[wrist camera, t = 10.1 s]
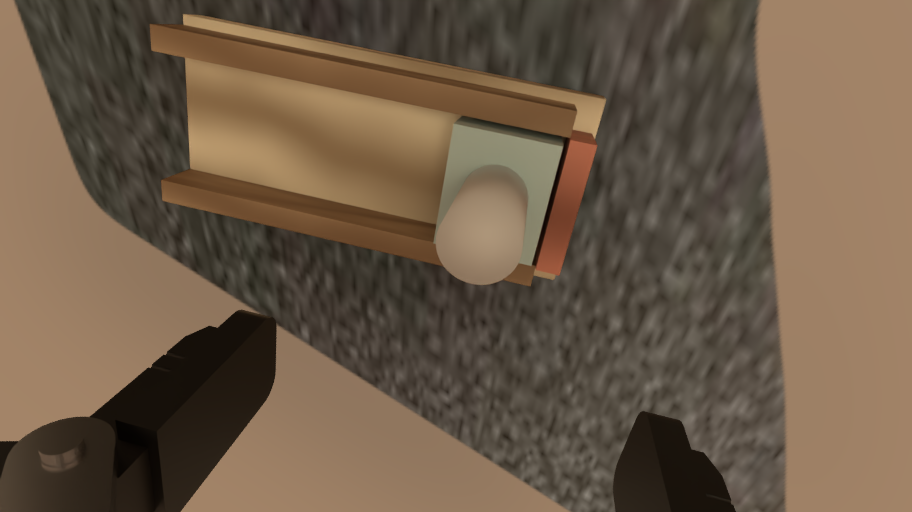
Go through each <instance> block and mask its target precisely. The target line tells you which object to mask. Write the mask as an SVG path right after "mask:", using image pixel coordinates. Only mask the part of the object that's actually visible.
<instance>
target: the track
mask: <svg viewBox="0 0 912 512" xmlns="http://www.w3.org/2000/svg"><path fill="white" fill-rule="evenodd" d="M183 23H184V25H175V24H150V34H151V48H152V51H156V52H161V53H166V54H170V55H175V56H180V57H185V65H186V86H187V108H188V129H189V150H190V169H189V170H186V171H183V172H181V173H178V174H175V175H173V176H170V177H168V178H165V179H162V180H161V185H162V199H163V201H166V202H170V203H175V204H179V205H183V206H187V207H192V208H196V209H200V210H205V211H209V212H213V213H217V214H222V215H226V216H230V217H235V218H239V219H243V220H248V221H252V222H256V223H260V224H265V225H269V226H273V227H278V228H282V229H286V230H290V231H295V232H299V233H303V234H308V235H312V236H316V237H320V238H325V239H329V240H333V241H338V242H342V243H346V244H351V245H355V246H359V247H363V248H368V249H372V250H376V251H381V252H385V253H389V254H393V255H398V256H402V257H406V258H411V259H415V260H419V261H424V262H428V263H432V264H436V265H441V266H443V264H442V263H441V261H440V259H439V257H438V254H437V250H436V244H433V242H434V236H435V230H436V224H437V219H438V213H439V207H440V201H441V195H442V189H443V183H444V177H445V172H446V166H447V160H448V154H449V148H450V142H451V136H452V130H453V125H454V123H455V122H456V121H457V120H458V119H459V118H460V117H461V116H462V115H463V116H468V117H472V118H477V119H482V120H487V121H492V122H496V123H501V124H506V125H511V126H515V127H520V128H525V129H530V130H535V131H539V132H544V133H549V134H554V135H559V136H562V143H563V149H562V152H561V156H560V160H559V164H558V167H557V171H556V175H555V179H554V183H553V186H552V190H551V194H550V198H549V201H548V205H547V209H546V213H545V217H544V220H543V224H542V228H541V232H540V235H539V239H538V243H537V247H536V250H535V254H534V258H533V262H532V266H529V265H525V264H520V263H518V265H517V266H516V268H515V269H514V271H513V272H512V273H511V274H510V275H508V276H507V277H506V278H504V279H502V280H505V281H509V282H514V283H518V284H522V285H527V286H531V282H532V278H533V275H535V276H539V277H544V278H548V279H552V280H554V278H555V275H560V271H561V268H562V265H563V261H564V258H565V254H566V251H567V247H568V244H569V241H570V237H571V234H572V230H573V227H574V224H575V220H576V217H577V213H578V210H579V207H580V203H581V200H582V196H583V193H584V190H585V186H586V183H587V179H588V176H589V173H590V169H591V166H592V162H593V159H594V155H595V152H596V149H597V144H596V141H595V137H596V133H597V130H598V126H599V123H600V120H601V116H602V113H603V109H604V106H605V102H606V99H605V98H604V96H600V95H595V94H590V93H585V92H580V91H575V90H570V89H565V88H560V87H555V86H550V85H545V84H540V83H535V82H531V81H526V80H521V79H516V78H511V77H506V76H501V75H496V74H491V73H486V72H481V71H476V70H471V69H466V68H461V67H456V66H451V65H446V64H441V63H436V62H431V61H426V60H421V59H416V58H411V57H406V56H401V55H396V54H391V53H386V52H381V51H376V50H372V49H367V48H362V47H357V46H352V45H347V44H342V43H337V42H332V41H327V40H322V39H317V38H312V37H307V36H302V35H297V34H292V33H287V32H282V31H277V30H272V29H267V28H262V27H257V26H252V25H247V24H242V23H237V22H232V21H227V20H222V19H217V18H213V17H208V16H203V15H188V14H183Z"/></svg>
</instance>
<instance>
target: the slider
mask: <svg viewBox="0 0 912 512" xmlns="http://www.w3.org/2000/svg"><path fill="white" fill-rule="evenodd" d="M562 149H563V143H562V136H559V135H554V134H549V133H544V132H539V131H535V130H530V129H525V128H520V127H515V126H511V125H506V124H501V123H496V122H492V121H487V120H482V119H477V118H472V117H468V116H463V115H462V116H461V117H460V118H459V119H458V120H457V121H456V122H455V123H454V125H453V130H452V136H451V142H450V148H449V154H448V160H447V166H446V172H445V177H444V183H443V189H442V195H441V201H440V207H439V213H438V219H437V224H436V230H435V236H434V242H433V244H436V250H437V254H438V257H439V259H440V261H441V263H442V264H443V266H444V267H445V268H446V270H447V271H448V272H449V273H451V274H452V275H453V276H454V277H456V278H458V279H459V280H462V281H464V282H467V283H470V284H475V285H487V284H492V283H495V282H498V281H500V280H502V279H504V278H506V277H507V276H508V275H510V274H511V273H512V272H513V271H514V269H515V268H516V266H517V265H518V263H520V264H525V265H529V266H532V262H533V258H534V254H535V250H536V247H537V243H538V239H539V235H540V232H541V228H542V224H543V220H544V217H545V213H546V209H547V205H548V201H549V198H550V194H551V190H552V186H553V183H554V179H555V175H556V171H557V167H558V164H559V160H560V156H561V152H562Z"/></svg>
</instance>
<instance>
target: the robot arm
mask: <svg viewBox="0 0 912 512" xmlns="http://www.w3.org/2000/svg"><path fill="white" fill-rule="evenodd" d="M275 370H276V321H275V319H274V318H273V317H269V316H265V315H261V314H257V313H252V312H248V311H244V310H238V311H236V312H235V313H234V314H233V315H231V316H230V317H229V318H228V319H227V320H226V321H225V322H224V323H223V324H221V325H220V326H219V327H218V328H216V327H212V326H208V327H206V328H204V329H201V330H199V331H197V332H194V333H192V334H190V335H188V336H185V337H184V338H183V339H182V340H181V341H179V342H178V343H177V344H176V345H175V346H173V347H172V348H171V349H170V350H169V351H167V354H166V355H163V356H161V357H160V358H159V359H158V360H157V361H156V362H154V363H153V364H152V367H151V368H147V369H146V370H145V371H144V372H142V373H141V374H140V375H139V376H138V377H137V378H135V379H134V380H133V381H132V382H131V383H129V384H128V385H127V386H126V387H125V388H123V389H122V390H121V391H120V392H119V393H118V394H116V395H115V396H114V397H113V398H112V399H110V400H109V401H108V402H107V403H106V404H104V405H103V406H102V407H101V408H100V409H98V410H97V411H96V412H95V413H94V414H93V415H91V416H90V417H73V418H67V419H62V420H58V421H55V422H52V423H49V424H47V425H44V426H42V427H40V428H38V429H36V430H34V431H32V432H31V433H29V434H28V435H26V436H25V437H24V438H22V439H21V440H20V441H9V442H8V441H6V442H5V441H2V442H1V441H0V512H181V510H182V509H183V508H184V506H185V505H186V503H187V502H188V501H189V500H190V498H191V497H192V496H193V494H194V493H195V492H196V491H197V489H198V488H199V487H200V486H201V484H202V483H203V482H204V480H205V479H206V478H207V476H208V475H209V474H210V472H211V471H212V470H213V469H214V467H215V466H216V465H217V463H218V462H219V461H220V459H221V458H222V457H223V456H224V454H225V453H226V452H227V450H228V449H229V448H230V446H231V445H232V444H233V443H234V441H235V440H236V439H237V437H238V436H239V435H240V434H241V432H242V431H243V430H244V428H245V427H246V426H247V424H248V423H249V422H250V420H251V419H252V418H253V417H254V415H255V414H256V413H257V411H258V410H259V409H260V407H261V406H262V405H263V403H264V402H265V401H266V399H267V398H268V396H269V394H270V391H271V389H272V386H273V383H274V379H275ZM613 495H614V503H615V511H616V512H736V511H735V508H734V506H733V505H732V504H731V498H730V495H729V493H728V490H727V487H726V485H725V482H724V480H723V477H722V475H721V474H720V473H719V471H718V470H717V469H716V467H715V466H714V465H713V464H712V462H711V461H710V460H709V459H708V457H707V456H706V455H705V454H704V453H703V452H699V451H695V450H692V449H691V447H690V444H689V441H688V438H687V435H686V432H685V429H684V426H683V424H682V422H681V421H680V420H677V419H673V418H669V417H665V416H661V415H657V414H653V413H649V412H645V411H642V412H640V414H639V415H638V416H637V418H636V421H635V423H634V425H633V428H632V430H631V432H630V435H629V437H628V439H627V442H626V444H625V446H624V449H623V451H622V454H621V456H620V458H619V461H618V463H617V466H616V470H615V475H614V483H613Z"/></svg>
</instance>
